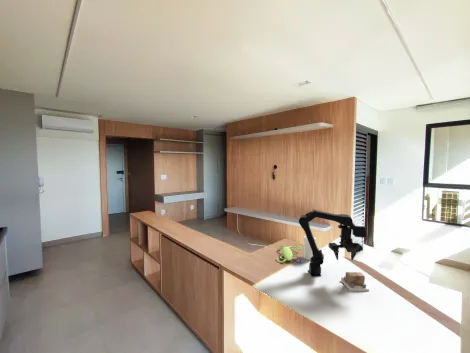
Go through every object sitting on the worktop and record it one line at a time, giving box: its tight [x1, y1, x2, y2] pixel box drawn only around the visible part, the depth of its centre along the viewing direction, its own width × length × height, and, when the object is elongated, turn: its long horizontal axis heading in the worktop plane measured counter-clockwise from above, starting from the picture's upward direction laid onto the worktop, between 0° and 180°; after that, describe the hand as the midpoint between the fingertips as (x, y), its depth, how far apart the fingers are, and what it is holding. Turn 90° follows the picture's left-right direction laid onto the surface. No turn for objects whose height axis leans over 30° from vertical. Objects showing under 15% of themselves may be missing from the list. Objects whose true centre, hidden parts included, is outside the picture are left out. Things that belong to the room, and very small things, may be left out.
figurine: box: [276, 244, 303, 264], centre depth 165 cm, size 18×27×6 cm
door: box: [345, 271, 366, 286], centre depth 128 cm, size 10×4×6 cm, turn 90°
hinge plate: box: [340, 275, 370, 292], centre depth 128 cm, size 11×10×3 cm
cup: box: [302, 235, 317, 261], centre depth 162 cm, size 8×8×16 cm
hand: (344, 259), depth 134 cm, fingers open, 9 cm apart
